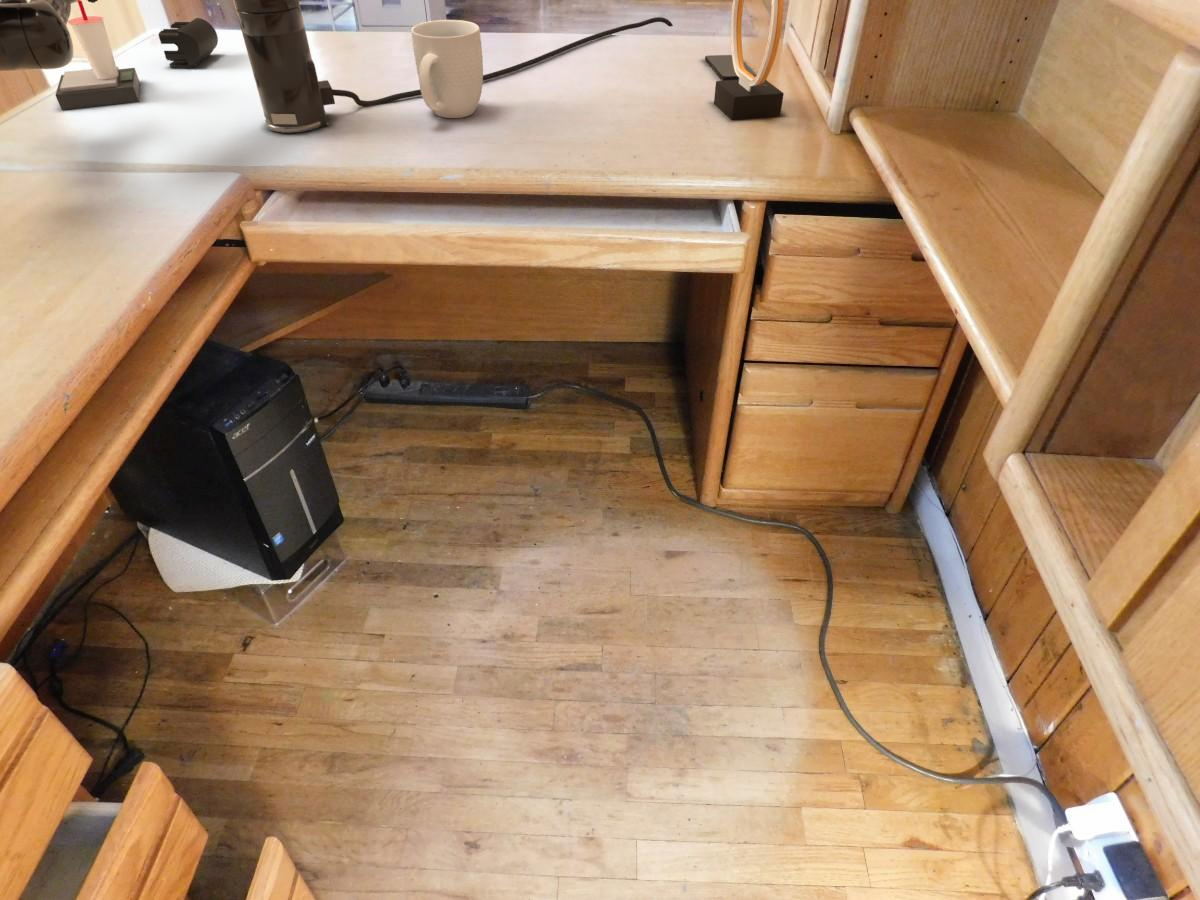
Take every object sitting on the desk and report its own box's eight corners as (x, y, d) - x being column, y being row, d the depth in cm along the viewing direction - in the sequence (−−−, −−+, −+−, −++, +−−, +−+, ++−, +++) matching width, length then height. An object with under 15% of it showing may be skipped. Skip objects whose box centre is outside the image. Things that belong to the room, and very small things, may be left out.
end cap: (205, 69, 150) (193, 30, 145) (168, 69, 150) (155, 30, 145) (223, 54, 157) (212, 17, 153) (188, 54, 157) (176, 17, 152)
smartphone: (737, 54, 157) (758, 75, 145) (736, 59, 157) (757, 80, 146) (704, 55, 156) (722, 76, 145) (703, 60, 156) (722, 81, 145)
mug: (460, 134, 124) (450, 46, 116) (399, 127, 127) (385, 39, 118) (497, 105, 135) (490, 22, 126) (440, 98, 137) (430, 16, 129)
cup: (121, 70, 138) (92, -6, 130) (127, 77, 135) (97, 0, 127) (88, 75, 136) (56, -2, 128) (93, 83, 133) (61, 4, 125)
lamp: (789, 124, 129) (828, -108, 108) (740, 128, 127) (769, -107, 106) (751, 93, 141) (779, -122, 120) (706, 96, 139) (726, -120, 118)
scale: (139, 82, 143) (133, 63, 141) (138, 101, 135) (131, 82, 133) (67, 89, 140) (59, 70, 138) (61, 110, 132) (53, 90, 130)
